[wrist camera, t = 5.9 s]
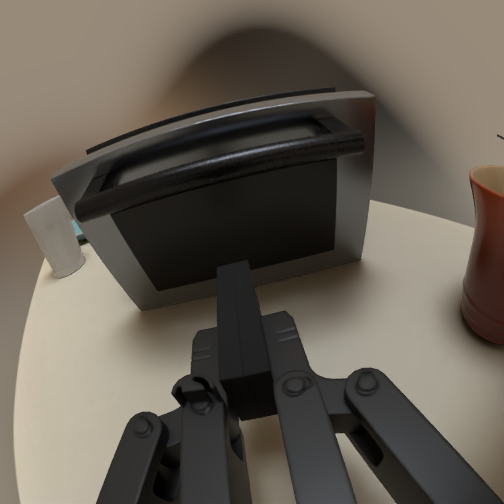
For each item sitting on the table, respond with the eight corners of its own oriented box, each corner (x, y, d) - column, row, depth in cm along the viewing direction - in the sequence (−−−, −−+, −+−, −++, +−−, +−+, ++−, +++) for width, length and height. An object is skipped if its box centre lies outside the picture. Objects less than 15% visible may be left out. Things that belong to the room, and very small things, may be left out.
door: (374, 285, 23) (405, 111, 12) (139, 340, 23) (30, 207, 12) (354, 248, 27) (364, 90, 16) (142, 298, 27) (58, 168, 16)
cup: (49, 273, 40) (23, 214, 35) (83, 252, 45) (59, 194, 40) (55, 285, 35) (23, 216, 30) (94, 261, 40) (66, 193, 35)
